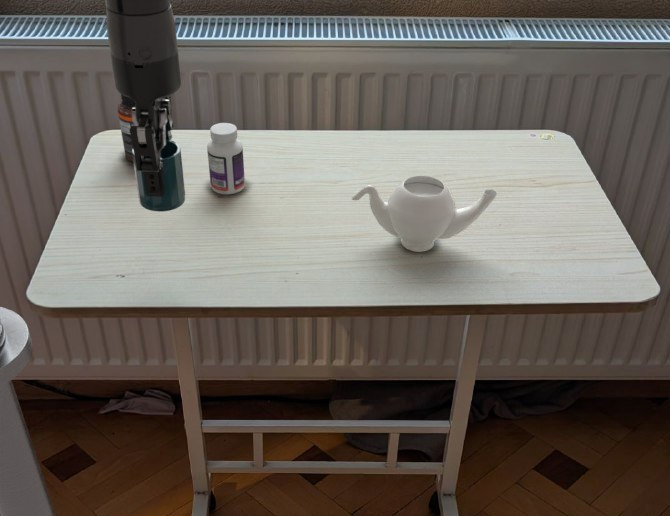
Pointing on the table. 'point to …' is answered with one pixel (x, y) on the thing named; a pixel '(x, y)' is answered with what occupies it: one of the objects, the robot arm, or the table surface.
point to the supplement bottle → (126, 124)
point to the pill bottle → (225, 159)
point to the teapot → (423, 211)
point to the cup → (172, 181)
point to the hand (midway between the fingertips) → (160, 181)
